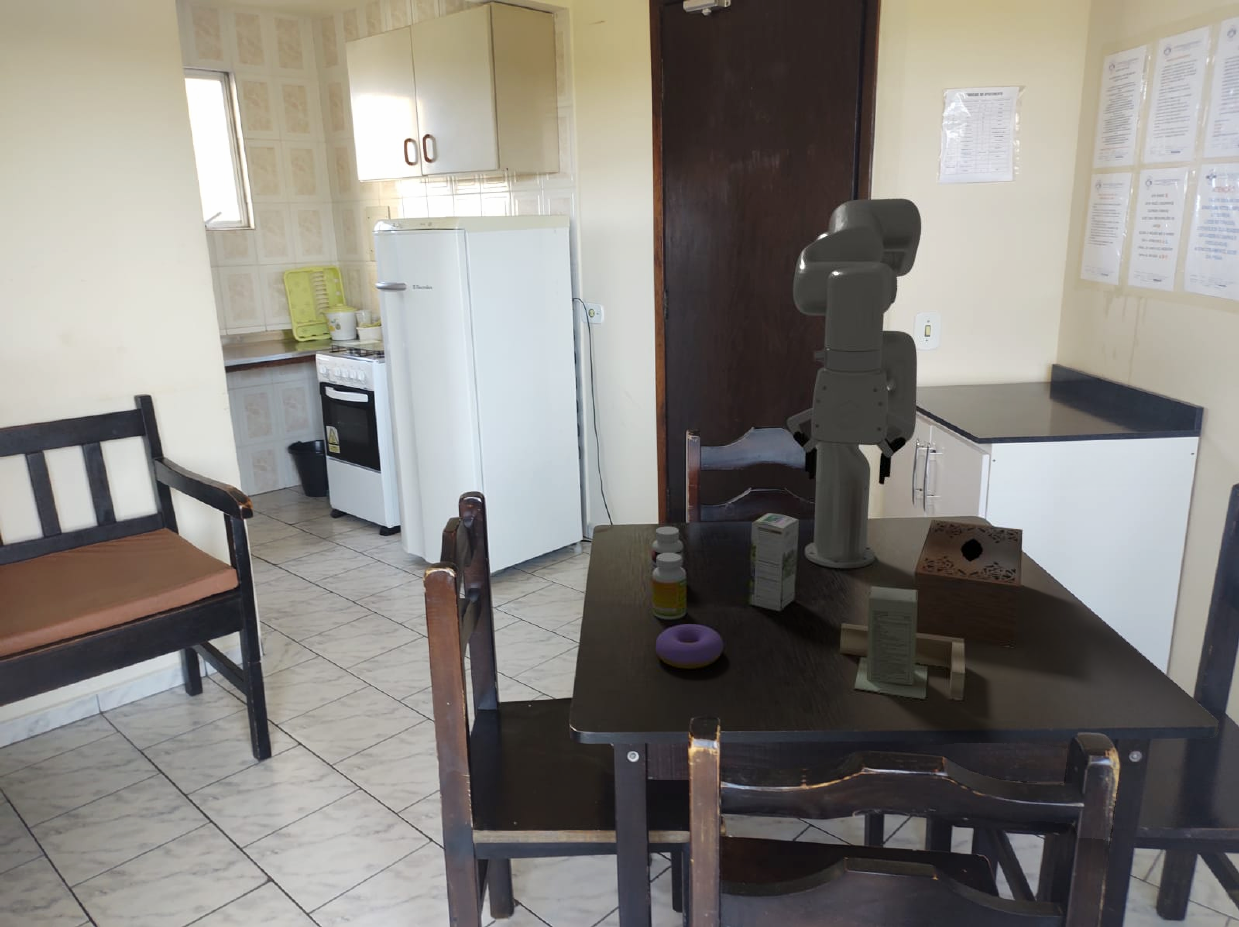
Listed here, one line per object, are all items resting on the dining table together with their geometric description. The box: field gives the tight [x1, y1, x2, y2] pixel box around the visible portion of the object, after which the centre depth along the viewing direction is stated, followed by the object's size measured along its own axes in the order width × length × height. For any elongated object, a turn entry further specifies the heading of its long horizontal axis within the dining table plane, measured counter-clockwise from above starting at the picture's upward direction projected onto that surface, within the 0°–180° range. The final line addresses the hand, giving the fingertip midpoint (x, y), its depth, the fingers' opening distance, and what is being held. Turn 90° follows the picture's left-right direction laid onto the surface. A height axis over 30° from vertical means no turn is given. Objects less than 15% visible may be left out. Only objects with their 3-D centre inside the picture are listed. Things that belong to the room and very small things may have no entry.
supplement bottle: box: [651, 553, 687, 621], centre depth 140 cm, size 5×5×10 cm
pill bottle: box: [651, 526, 684, 576], centre depth 152 cm, size 5×5×10 cm
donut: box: [655, 623, 724, 670], centre depth 127 cm, size 10×9×5 cm
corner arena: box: [839, 622, 966, 700], centre depth 120 cm, size 12×16×4 cm
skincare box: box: [866, 585, 918, 685], centre depth 118 cm, size 6×4×12 cm
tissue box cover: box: [912, 519, 1024, 648], centre depth 140 cm, size 26×14×10 cm, turn 155°
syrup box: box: [748, 512, 800, 612], centre depth 142 cm, size 6×6×14 cm
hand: (846, 478), depth 125 cm, fingers open, 9 cm apart
